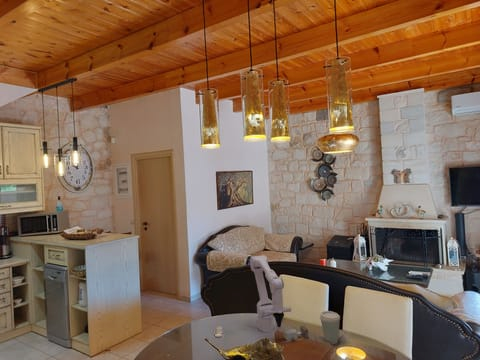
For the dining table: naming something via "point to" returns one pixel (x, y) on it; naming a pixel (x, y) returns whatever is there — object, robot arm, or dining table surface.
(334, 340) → the disposable coffee cup
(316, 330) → the dining table surface
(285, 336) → the gauge carriage
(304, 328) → the scale board
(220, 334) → the teacup and saucer
